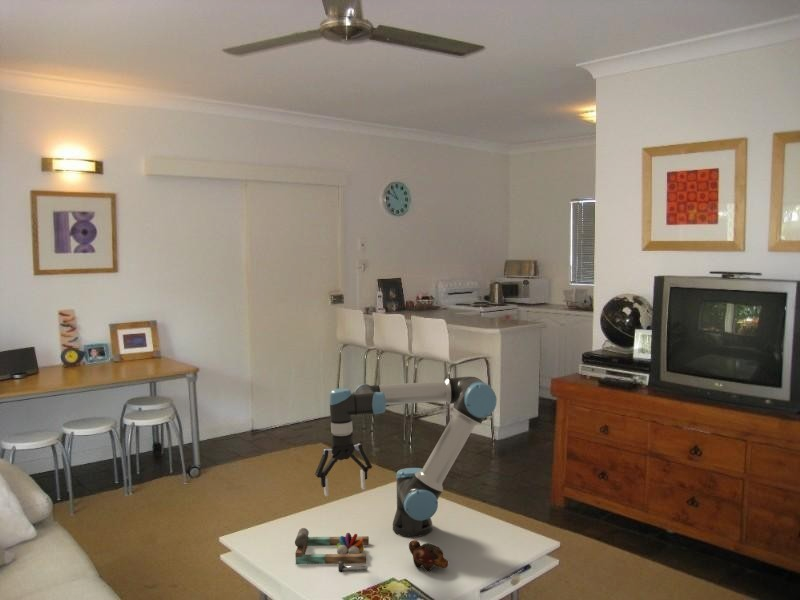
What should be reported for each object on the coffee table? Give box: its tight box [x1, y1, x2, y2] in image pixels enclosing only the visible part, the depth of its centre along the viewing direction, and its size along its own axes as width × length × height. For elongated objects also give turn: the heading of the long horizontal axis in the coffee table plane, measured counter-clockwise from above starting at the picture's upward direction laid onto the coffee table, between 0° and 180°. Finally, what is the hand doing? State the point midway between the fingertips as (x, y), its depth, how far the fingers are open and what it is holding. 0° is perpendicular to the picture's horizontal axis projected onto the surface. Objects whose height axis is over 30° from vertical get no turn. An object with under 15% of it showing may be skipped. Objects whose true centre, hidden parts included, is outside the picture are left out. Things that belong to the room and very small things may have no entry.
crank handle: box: [337, 561, 369, 573], centre depth 222 cm, size 10×2×3 cm, turn 89°
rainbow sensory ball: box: [336, 532, 365, 554], centre depth 235 cm, size 8×10×7 cm
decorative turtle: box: [408, 539, 449, 572], centre depth 224 cm, size 10×15×8 cm, turn 60°
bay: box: [294, 527, 370, 565], centre depth 235 cm, size 25×16×8 cm, turn 89°
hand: (345, 492), depth 236 cm, fingers open, 13 cm apart
